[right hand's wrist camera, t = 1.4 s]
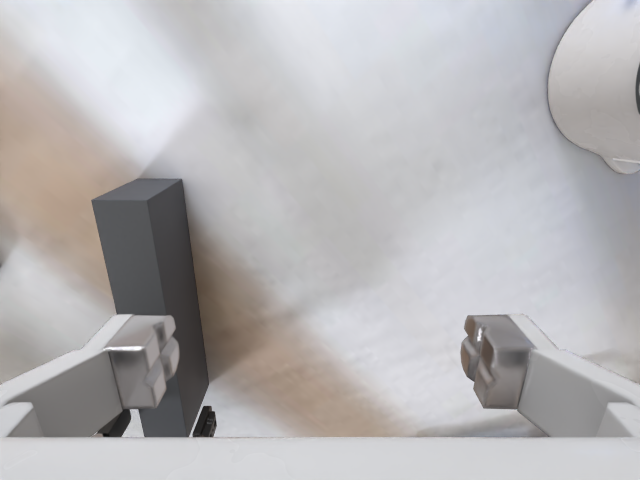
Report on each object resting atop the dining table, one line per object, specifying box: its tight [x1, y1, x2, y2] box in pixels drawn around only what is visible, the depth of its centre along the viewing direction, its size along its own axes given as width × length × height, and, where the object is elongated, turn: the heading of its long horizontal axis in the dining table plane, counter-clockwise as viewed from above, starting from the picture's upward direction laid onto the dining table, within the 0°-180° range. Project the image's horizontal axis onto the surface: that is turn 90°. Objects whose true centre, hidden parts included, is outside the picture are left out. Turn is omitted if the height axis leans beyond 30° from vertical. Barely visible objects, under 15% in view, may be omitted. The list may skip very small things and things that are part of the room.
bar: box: [91, 179, 209, 437], centre depth 38 cm, size 26×4×8 cm, turn 0°
